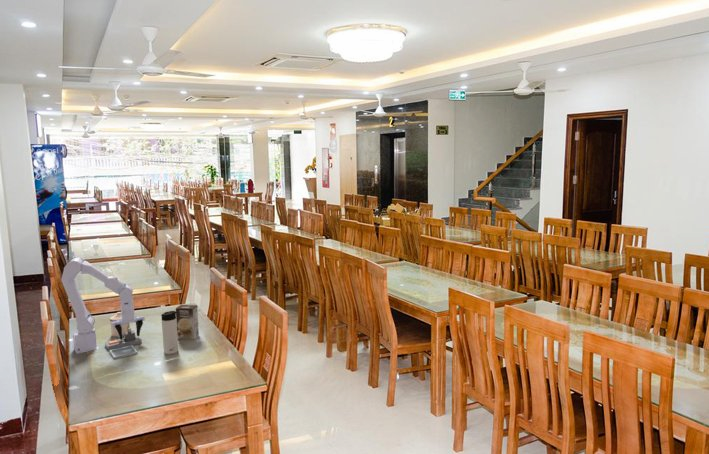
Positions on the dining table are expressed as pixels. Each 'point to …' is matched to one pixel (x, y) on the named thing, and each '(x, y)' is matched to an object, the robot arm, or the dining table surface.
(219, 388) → the dining table surface
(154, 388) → the dining table surface
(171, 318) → the travel mug
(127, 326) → the teacup with lid
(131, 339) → the plug
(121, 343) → the power strip
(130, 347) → the tray
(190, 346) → the dining table surface
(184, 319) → the coffee box
